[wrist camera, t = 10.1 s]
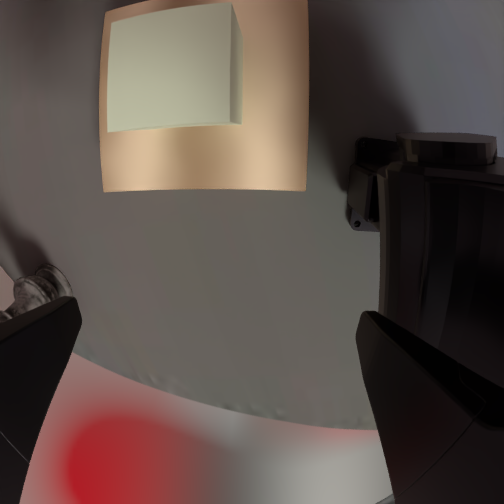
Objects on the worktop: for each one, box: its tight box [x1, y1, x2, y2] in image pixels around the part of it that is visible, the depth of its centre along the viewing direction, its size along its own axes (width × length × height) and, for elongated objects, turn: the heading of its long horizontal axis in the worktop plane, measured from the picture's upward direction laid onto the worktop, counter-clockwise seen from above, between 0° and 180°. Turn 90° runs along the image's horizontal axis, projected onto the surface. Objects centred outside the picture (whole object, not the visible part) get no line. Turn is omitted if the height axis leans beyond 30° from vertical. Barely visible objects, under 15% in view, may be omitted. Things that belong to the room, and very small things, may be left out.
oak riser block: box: [99, 0, 309, 192], centre depth 15 cm, size 12×12×4 cm
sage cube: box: [107, 2, 243, 132], centre depth 11 cm, size 5×5×5 cm
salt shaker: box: [0, 264, 73, 323], centre depth 19 cm, size 6×6×12 cm
